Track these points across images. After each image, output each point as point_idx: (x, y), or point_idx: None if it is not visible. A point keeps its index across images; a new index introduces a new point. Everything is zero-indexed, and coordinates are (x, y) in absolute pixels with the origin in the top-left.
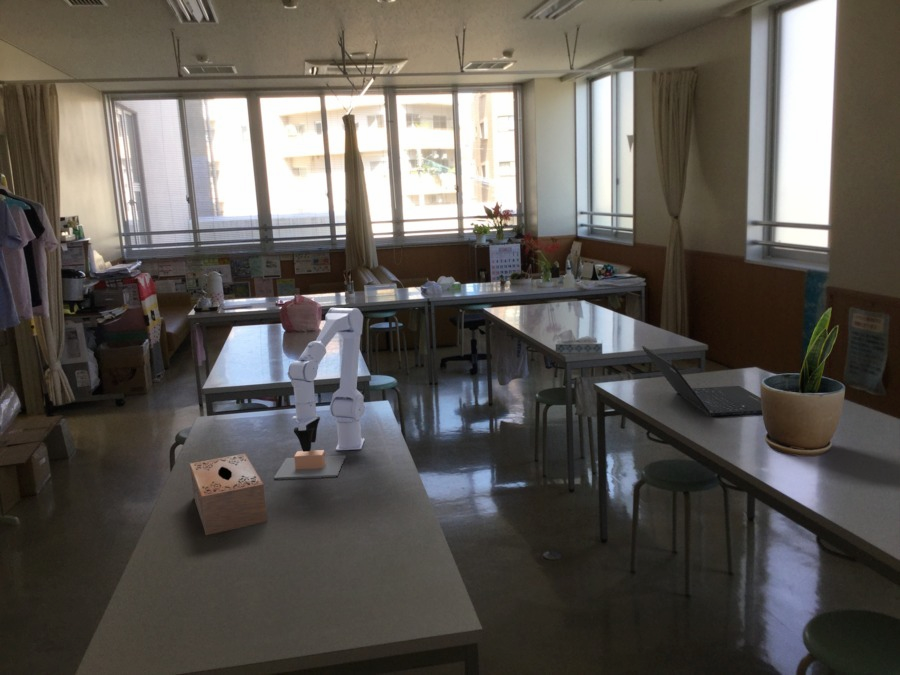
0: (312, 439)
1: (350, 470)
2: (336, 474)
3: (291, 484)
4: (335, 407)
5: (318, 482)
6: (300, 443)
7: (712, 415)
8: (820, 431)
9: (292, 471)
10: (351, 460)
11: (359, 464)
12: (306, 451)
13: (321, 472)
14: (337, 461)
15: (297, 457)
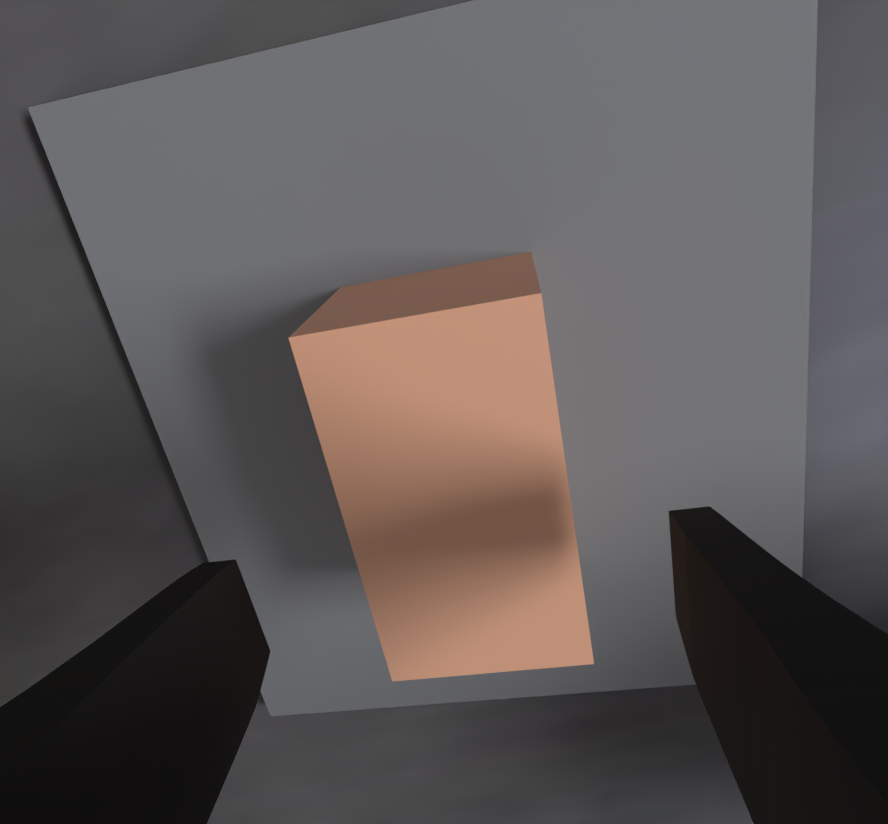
0: (688, 624)
1: (433, 756)
2: (276, 709)
3: (3, 378)
4: None
5: (127, 596)
6: (74, 661)
7: None
8: None
9: (269, 276)
10: (687, 721)
11: (577, 790)
12: (527, 450)
13: (298, 586)
14: (610, 648)
15: (309, 377)
